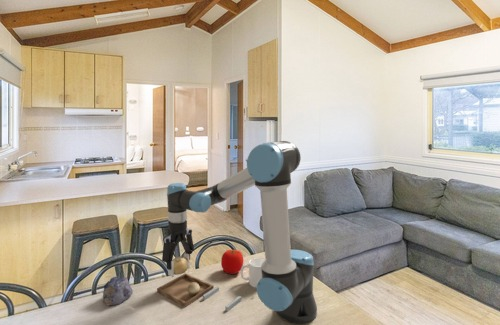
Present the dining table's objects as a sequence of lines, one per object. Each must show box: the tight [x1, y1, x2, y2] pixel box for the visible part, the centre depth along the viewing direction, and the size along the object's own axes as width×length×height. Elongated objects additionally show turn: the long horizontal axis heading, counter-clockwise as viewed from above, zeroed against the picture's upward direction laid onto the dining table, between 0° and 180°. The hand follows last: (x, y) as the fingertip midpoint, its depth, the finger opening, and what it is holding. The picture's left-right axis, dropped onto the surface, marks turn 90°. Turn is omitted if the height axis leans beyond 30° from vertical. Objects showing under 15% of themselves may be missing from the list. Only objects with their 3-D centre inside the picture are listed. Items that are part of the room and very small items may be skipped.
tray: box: [156, 272, 215, 308], centre depth 126 cm, size 18×16×2 cm
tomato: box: [221, 249, 244, 275], centre depth 142 cm, size 10×11×11 cm
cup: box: [240, 257, 265, 289], centre depth 131 cm, size 8×12×10 cm
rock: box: [102, 276, 134, 306], centre depth 120 cm, size 11×10×10 cm
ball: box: [187, 282, 200, 295], centre depth 123 cm, size 5×5×5 cm
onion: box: [172, 256, 188, 276], centre depth 127 cm, size 8×8×7 cm
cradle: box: [202, 286, 242, 312], centre depth 119 cm, size 13×8×2 cm, turn 54°
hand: (179, 271), depth 127 cm, fingers closed on onion, 8 cm apart
